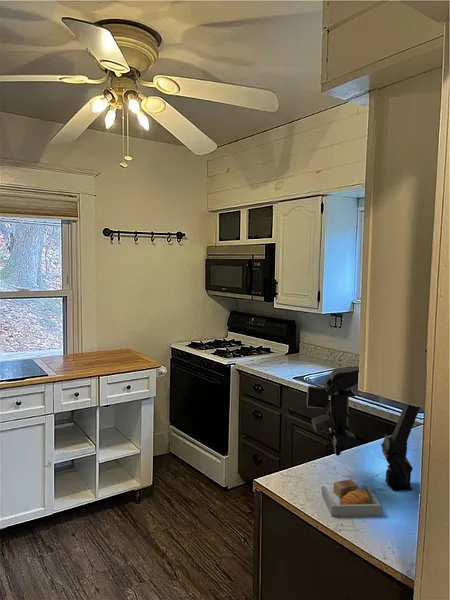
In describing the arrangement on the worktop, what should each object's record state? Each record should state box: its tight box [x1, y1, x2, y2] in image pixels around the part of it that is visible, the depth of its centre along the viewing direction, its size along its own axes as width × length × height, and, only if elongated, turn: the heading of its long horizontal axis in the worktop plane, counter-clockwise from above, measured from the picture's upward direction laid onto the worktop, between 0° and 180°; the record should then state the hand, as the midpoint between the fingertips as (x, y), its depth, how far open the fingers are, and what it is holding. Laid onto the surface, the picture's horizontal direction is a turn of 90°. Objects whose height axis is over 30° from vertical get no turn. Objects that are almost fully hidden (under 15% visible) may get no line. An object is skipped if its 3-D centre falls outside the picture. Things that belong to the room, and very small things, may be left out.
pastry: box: [339, 488, 371, 505], centre depth 136 cm, size 9×7×4 cm
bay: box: [321, 484, 382, 517], centre depth 136 cm, size 14×11×3 cm
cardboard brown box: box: [333, 479, 359, 500], centre depth 142 cm, size 6×4×4 cm, turn 107°
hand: (337, 455), depth 149 cm, fingers closed
